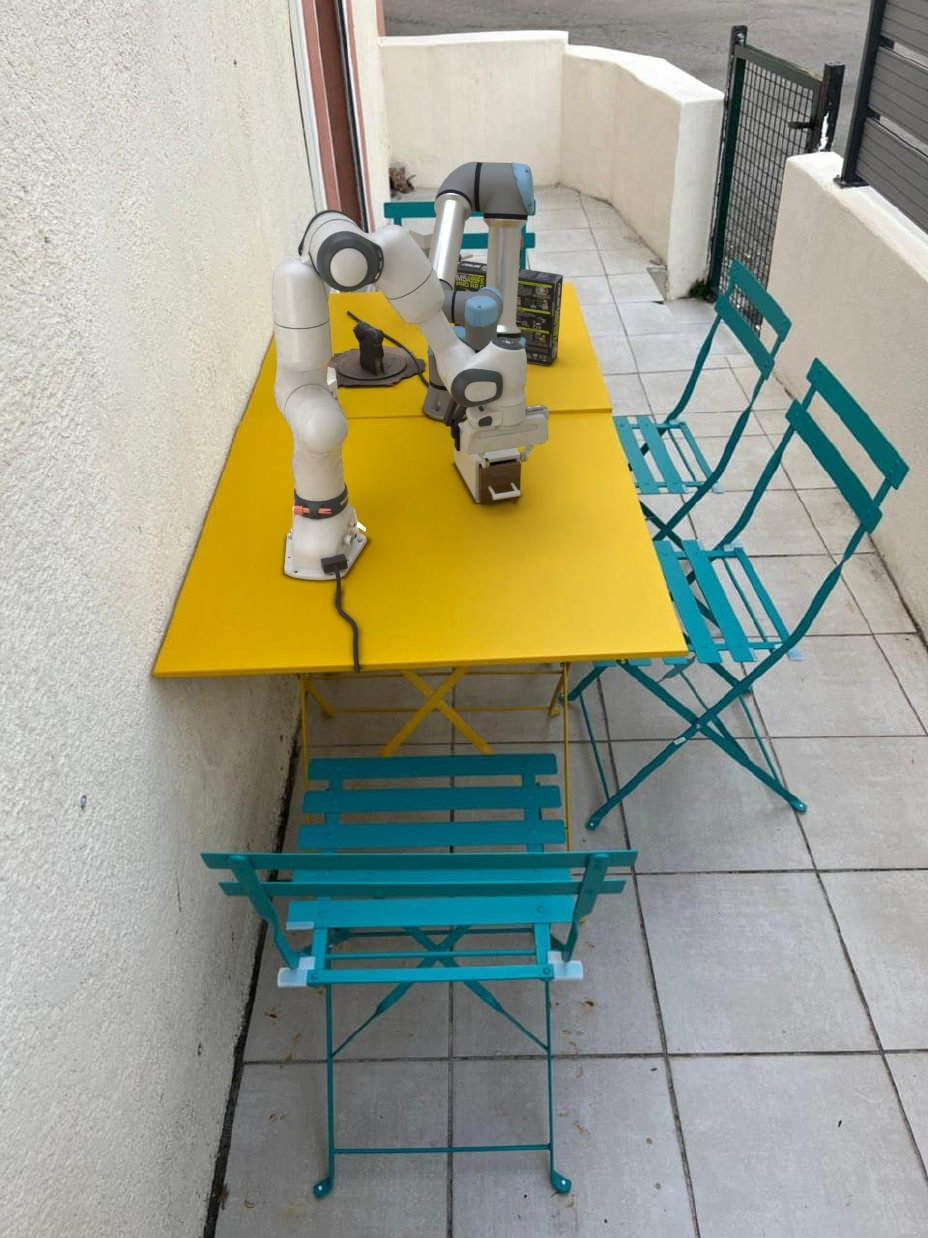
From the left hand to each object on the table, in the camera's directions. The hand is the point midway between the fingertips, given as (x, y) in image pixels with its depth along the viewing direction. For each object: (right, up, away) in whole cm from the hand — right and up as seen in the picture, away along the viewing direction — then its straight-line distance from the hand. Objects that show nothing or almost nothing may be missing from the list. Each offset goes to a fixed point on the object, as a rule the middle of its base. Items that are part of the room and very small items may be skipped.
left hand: (504, 463), depth 208 cm
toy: (-21, +67, +100) cm, 122 cm away
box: (+4, +49, +78) cm, 92 cm away
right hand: (-5, +8, +18) cm, 21 cm away
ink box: (-50, +21, +46) cm, 71 cm away
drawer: (-2, -4, +14) cm, 15 cm away
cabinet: (-4, -1, +19) cm, 20 cm away
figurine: (+8, +78, +112) cm, 137 cm away
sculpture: (-39, +42, +71) cm, 91 cm away
